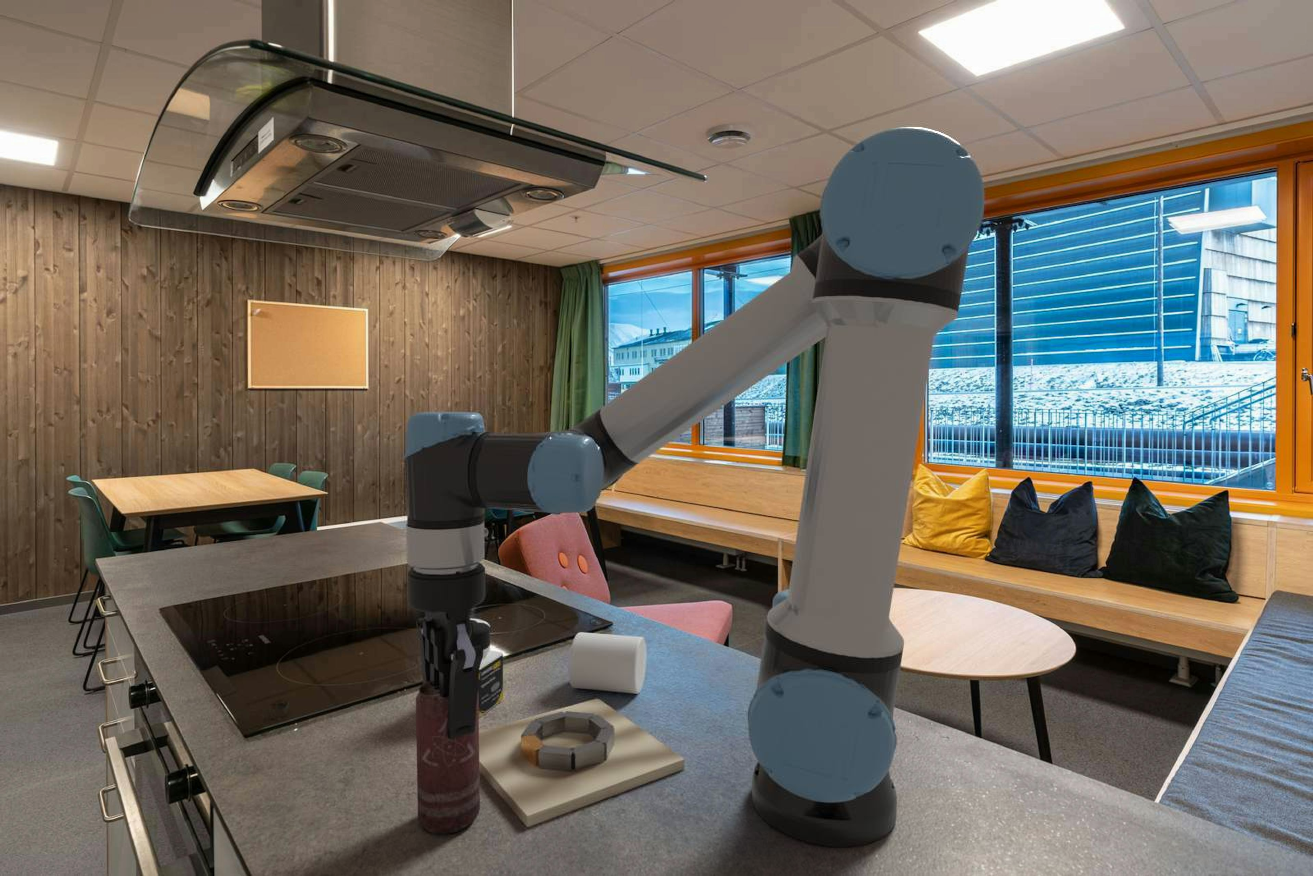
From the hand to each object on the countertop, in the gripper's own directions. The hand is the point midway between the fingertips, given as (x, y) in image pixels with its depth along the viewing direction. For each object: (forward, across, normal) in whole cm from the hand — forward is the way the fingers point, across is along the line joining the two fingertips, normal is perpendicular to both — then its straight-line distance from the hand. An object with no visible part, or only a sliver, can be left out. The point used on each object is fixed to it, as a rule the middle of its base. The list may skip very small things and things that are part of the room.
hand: (450, 790), depth 73 cm
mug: (+3, +20, -32) cm, 38 cm away
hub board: (+3, +4, -16) cm, 17 cm away
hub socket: (+2, +4, -16) cm, 17 cm away
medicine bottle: (+3, +24, -11) cm, 27 cm away
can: (+3, 0, 0) cm, 3 cm away
